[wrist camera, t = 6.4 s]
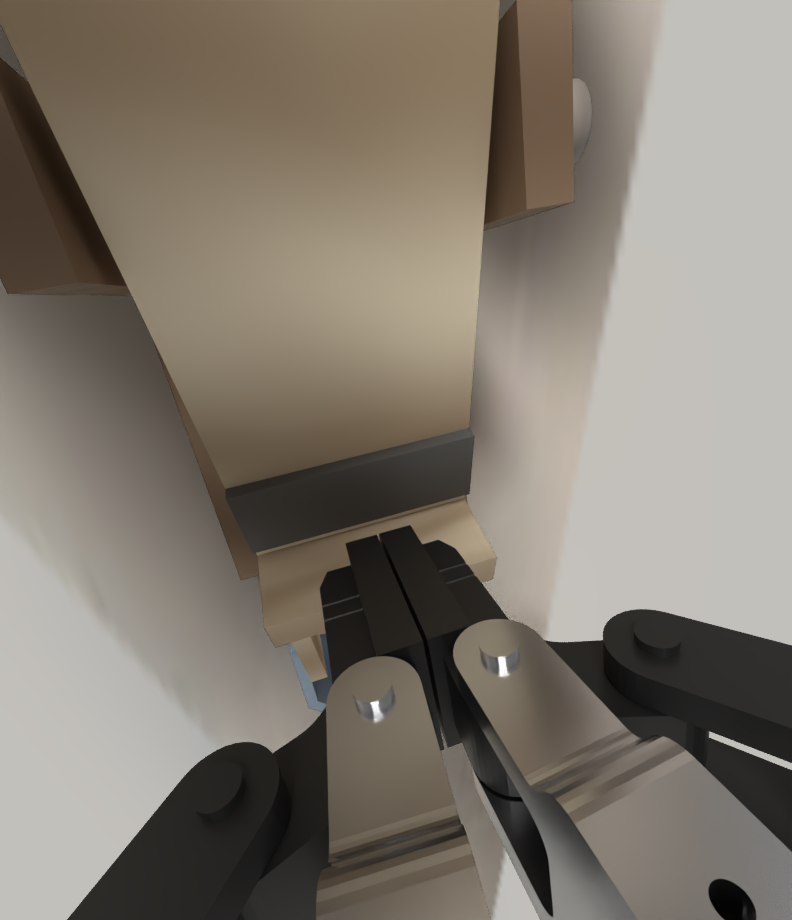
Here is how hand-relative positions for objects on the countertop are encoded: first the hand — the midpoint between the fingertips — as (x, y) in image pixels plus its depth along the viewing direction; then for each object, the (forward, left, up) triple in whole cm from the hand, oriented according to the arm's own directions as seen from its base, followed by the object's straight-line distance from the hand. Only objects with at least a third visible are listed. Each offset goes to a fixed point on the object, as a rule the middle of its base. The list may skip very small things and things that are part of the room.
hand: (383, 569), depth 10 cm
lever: (-2, +3, -2) cm, 4 cm away
